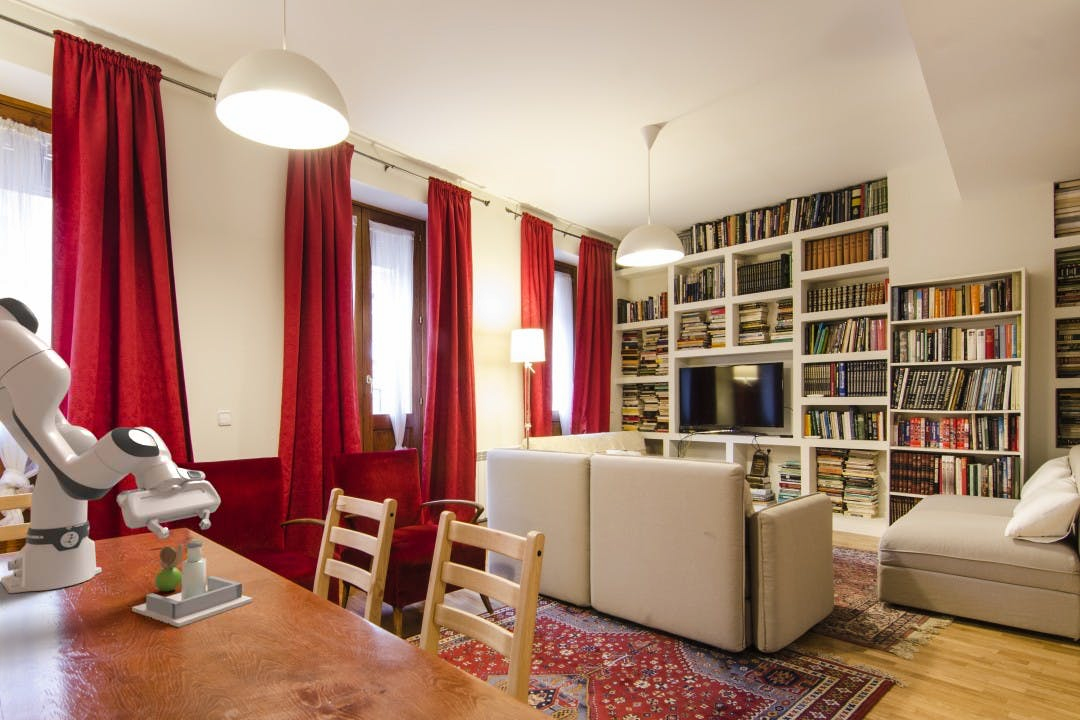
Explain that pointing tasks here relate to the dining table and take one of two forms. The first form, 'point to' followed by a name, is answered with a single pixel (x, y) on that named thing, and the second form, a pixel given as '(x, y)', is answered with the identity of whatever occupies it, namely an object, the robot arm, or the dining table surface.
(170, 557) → the snail figurine
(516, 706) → the dining table surface
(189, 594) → the pale green bottle
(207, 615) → the u stand
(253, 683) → the dining table surface
